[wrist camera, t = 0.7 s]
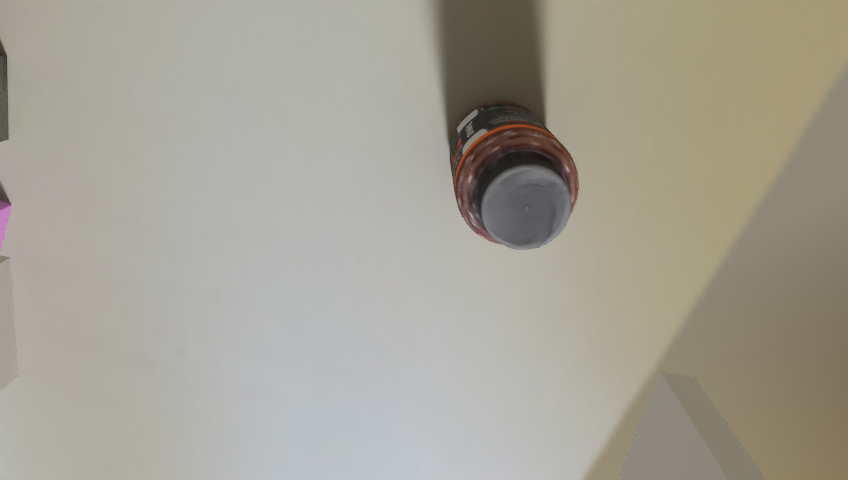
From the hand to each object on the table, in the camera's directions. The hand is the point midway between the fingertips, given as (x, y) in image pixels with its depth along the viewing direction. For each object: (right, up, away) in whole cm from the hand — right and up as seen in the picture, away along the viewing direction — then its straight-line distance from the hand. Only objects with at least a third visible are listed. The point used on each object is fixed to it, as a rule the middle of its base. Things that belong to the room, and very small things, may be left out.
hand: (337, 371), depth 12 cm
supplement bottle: (+6, +8, +25) cm, 27 cm away
